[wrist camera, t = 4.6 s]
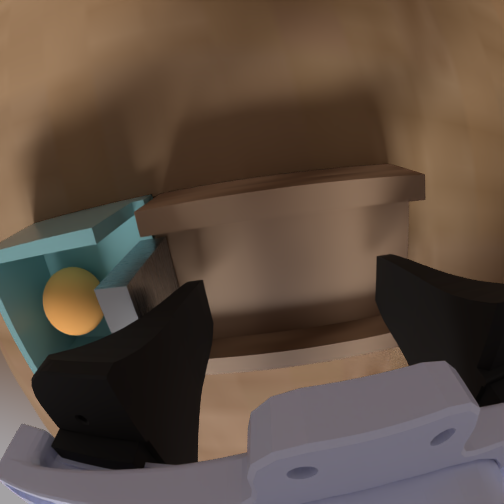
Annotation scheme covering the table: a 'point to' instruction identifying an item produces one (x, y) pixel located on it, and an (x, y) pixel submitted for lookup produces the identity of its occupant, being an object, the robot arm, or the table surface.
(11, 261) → the teal open box
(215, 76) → the table surface
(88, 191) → the table surface
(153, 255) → the plunger
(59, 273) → the ball
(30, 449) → the robot arm
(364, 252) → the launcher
